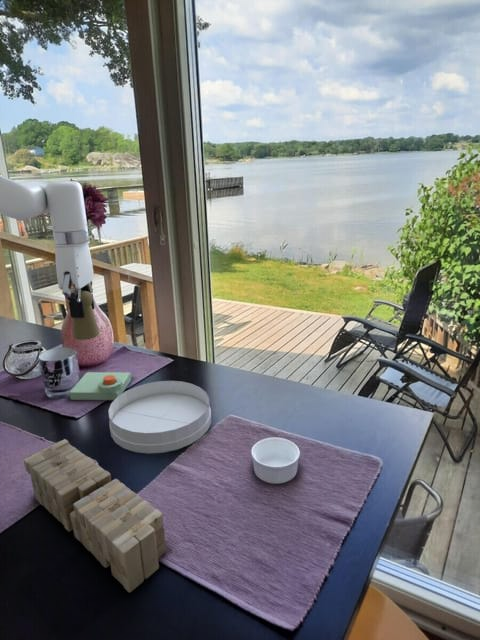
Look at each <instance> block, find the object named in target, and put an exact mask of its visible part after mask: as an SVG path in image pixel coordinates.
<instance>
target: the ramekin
mask: <svg viewBox="0 0 480 640" xmlns="http://www.w3.org/2000/svg"><path fill="white" fill-rule="evenodd" d="M250 454H251V459H252V462H253V463H252V464H253V471H254V474H255V476H256V477H257V478H258V479H259V480H261V481H263V482H265V483H268V484H274V485H275V484H284V483H286V482H289V481H291V480H293V479H294V478H295V477H296V475H297V472H298V467H299V459H300V456H301V451H300V448H299V446H298V445H297V444H295V443H294V442H293V441H291V440H289V439H287V438H283V437H267V438H263V439H260V440H259V441H257V442H256V443H254V444H253V445H252V448H251V450H250Z"/></svg>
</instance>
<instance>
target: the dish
mask: <svg viewBox="0 0 480 640" xmlns="http://www.w3.org/2000/svg"><path fill="white" fill-rule="evenodd" d="M108 418H109V421H108V423H109V432H110V437H111V438H112V440H113V441H114V443H115V444H117V445H118V446H119V447H120V448H122V449H125V450H128V451H131V452H134V453H141V454H161V453H168V452H172V451H177V450H180V449H183V448H184V447H188V446H190V445H192V444H193V443H195V442H197V441H198V440H199V439H201V438H203V436H204V435H205V434H206V433H207V432H208V431H209V428H210V426H211V425H212V410H211V406H210V397H209V395H208V393H207V391H206V390H204V389H203V388H201V387H200V386H198V385H195V384H193V383H190V382H185V381H181V380H180V381H178V380H161V381H160V380H158V381H153V382H146V383H144V384H140V385H136V386H134V387H132V388H130V389H128V390H126V391H125V390H124V392H123V393H122V394H121V395H119V396H118V397H117V398H116V399H115V400H112V402H111V403H110V406H109V408H108Z"/></svg>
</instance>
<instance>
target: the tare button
mask: <svg viewBox="0 0 480 640" xmlns="http://www.w3.org/2000/svg"><path fill="white" fill-rule="evenodd" d="M103 380H104V385H113V384H115V383H116V380H115V376H114V375H108V376H105V377H104V378H103Z"/></svg>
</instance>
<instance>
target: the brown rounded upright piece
mask: <svg viewBox="0 0 480 640" xmlns="http://www.w3.org/2000/svg"><path fill="white" fill-rule="evenodd" d="M73 293H75V295H76V291H73ZM92 294H93V293H90V292H88V291H81V301H83V306H84V313H85V317H84V318H72V319H73V321H72V322H73V338H74V339H76V340H80V341H81V340H82V341H85V340H91V339H94V338H97V337H98V336H99V335H100V331H99V326H98V323H97V320H96V317H95V313H94V309H92V306H91V304H92V301H93V300H94V296H93V297H92Z"/></svg>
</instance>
